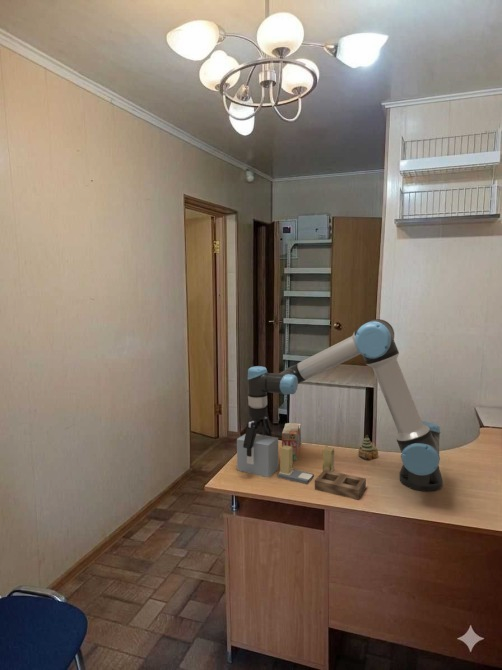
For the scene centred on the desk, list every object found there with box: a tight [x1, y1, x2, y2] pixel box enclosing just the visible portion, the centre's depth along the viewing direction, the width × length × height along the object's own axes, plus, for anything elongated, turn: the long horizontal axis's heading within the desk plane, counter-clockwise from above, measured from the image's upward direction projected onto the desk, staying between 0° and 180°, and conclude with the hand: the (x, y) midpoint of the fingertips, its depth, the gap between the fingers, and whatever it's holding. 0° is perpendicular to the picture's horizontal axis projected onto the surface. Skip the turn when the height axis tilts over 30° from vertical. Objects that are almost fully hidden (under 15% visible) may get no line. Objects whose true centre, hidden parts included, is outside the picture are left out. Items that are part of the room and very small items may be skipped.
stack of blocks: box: [281, 422, 302, 462], centre depth 193 cm, size 21×6×12 cm, turn 168°
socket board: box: [314, 469, 367, 501], centre depth 158 cm, size 16×10×4 cm, turn 61°
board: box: [277, 445, 314, 485], centre depth 167 cm, size 12×7×11 cm, turn 61°
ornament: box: [357, 434, 379, 461], centre depth 185 cm, size 8×6×10 cm
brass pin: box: [322, 446, 335, 472], centre depth 170 cm, size 4×4×10 cm
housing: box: [236, 433, 279, 478], centre depth 174 cm, size 14×9×13 cm, turn 61°
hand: (258, 457), depth 174 cm, fingers open, 13 cm apart
